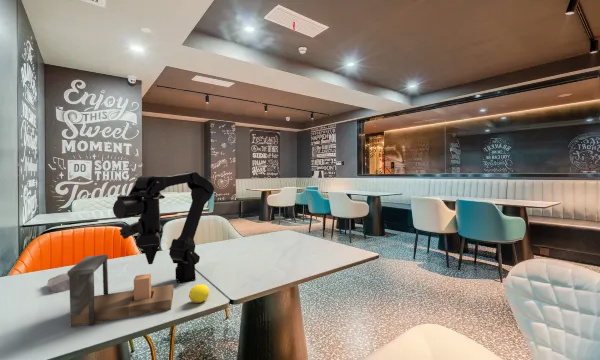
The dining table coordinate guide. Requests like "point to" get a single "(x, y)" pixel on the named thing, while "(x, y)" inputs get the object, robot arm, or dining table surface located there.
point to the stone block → (59, 283)
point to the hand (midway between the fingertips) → (152, 259)
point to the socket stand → (108, 296)
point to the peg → (142, 287)
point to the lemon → (199, 293)
